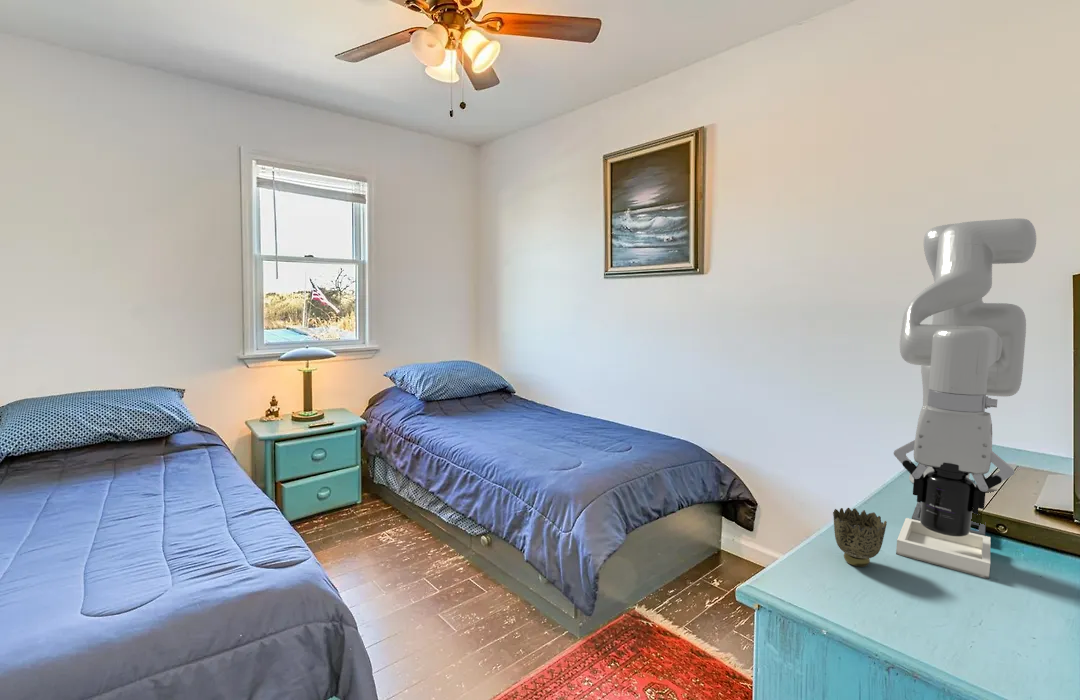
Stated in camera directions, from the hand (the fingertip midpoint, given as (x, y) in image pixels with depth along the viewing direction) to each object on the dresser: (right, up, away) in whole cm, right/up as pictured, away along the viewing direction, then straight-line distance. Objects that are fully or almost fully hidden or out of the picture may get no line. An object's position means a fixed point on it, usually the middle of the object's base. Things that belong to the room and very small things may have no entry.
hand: (946, 504), depth 88 cm
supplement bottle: (0, -4, 0) cm, 4 cm away
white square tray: (0, -8, +1) cm, 9 cm away
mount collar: (+9, -8, +11) cm, 16 cm away
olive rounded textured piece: (-17, -9, -3) cm, 20 cm away
